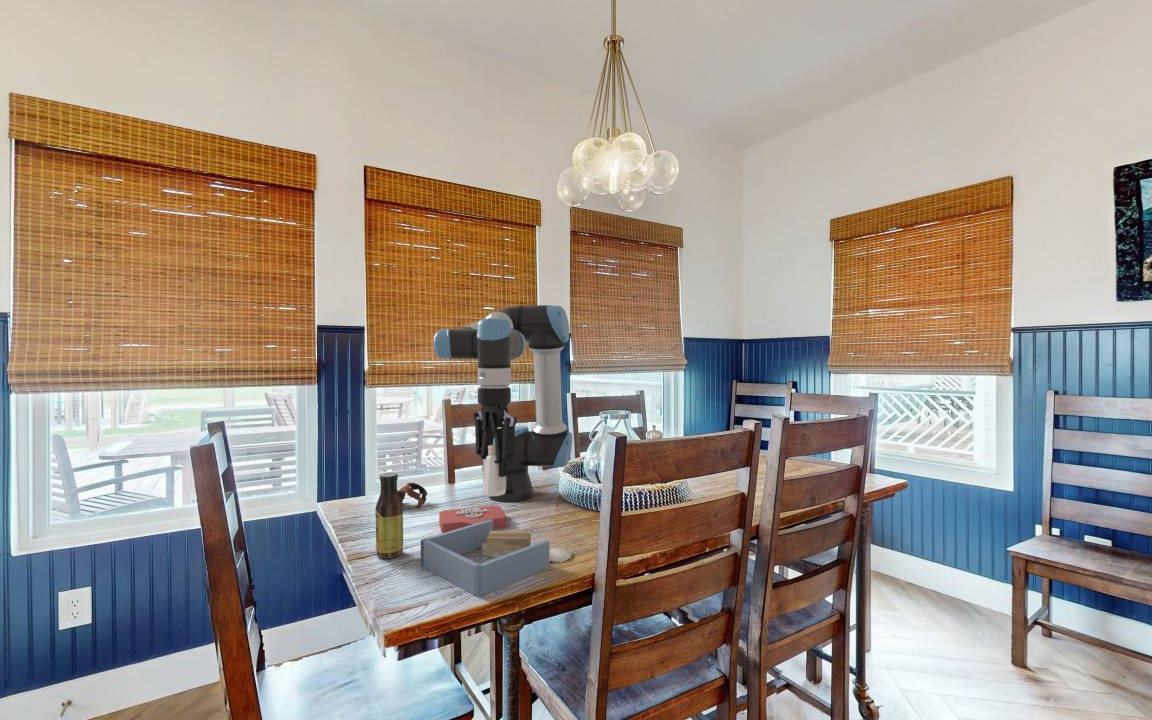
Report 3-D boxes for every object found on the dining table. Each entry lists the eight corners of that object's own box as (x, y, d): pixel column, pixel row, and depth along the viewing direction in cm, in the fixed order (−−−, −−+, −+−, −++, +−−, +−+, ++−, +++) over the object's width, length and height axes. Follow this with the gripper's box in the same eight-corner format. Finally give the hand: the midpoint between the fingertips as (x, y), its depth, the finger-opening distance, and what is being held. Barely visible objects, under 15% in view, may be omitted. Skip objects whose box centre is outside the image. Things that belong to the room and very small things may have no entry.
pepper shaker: (477, 495, 117) (477, 446, 117) (490, 488, 122) (490, 442, 122) (498, 497, 115) (498, 448, 115) (510, 491, 120) (510, 444, 120)
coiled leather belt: (405, 501, 171) (418, 480, 170) (422, 519, 166) (435, 497, 166) (377, 501, 160) (391, 479, 160) (395, 520, 155) (409, 496, 155)
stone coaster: (557, 548, 130) (557, 546, 130) (577, 556, 125) (577, 553, 125) (536, 556, 125) (536, 554, 125) (557, 564, 120) (557, 562, 120)
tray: (490, 542, 134) (490, 519, 134) (549, 566, 119) (549, 541, 119) (420, 565, 119) (420, 539, 119) (478, 597, 104) (478, 567, 104)
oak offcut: (490, 542, 127) (490, 530, 127) (530, 542, 127) (530, 531, 127) (486, 549, 122) (486, 538, 122) (528, 550, 122) (528, 538, 122)
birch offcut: (495, 549, 130) (495, 537, 130) (537, 560, 124) (537, 548, 124) (481, 556, 126) (481, 544, 126) (524, 568, 119) (524, 555, 119)
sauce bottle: (382, 549, 129) (382, 470, 128) (407, 550, 128) (406, 470, 128) (371, 560, 122) (370, 476, 122) (397, 560, 122) (396, 477, 121)
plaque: (442, 525, 136) (438, 508, 151) (442, 539, 137) (438, 522, 151) (509, 518, 142) (499, 503, 156) (509, 532, 142) (499, 515, 156)
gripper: (459, 385, 121) (460, 484, 122) (503, 389, 109) (504, 499, 110) (486, 383, 126) (486, 478, 127) (530, 387, 115) (530, 492, 115)
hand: (494, 488), depth 118 cm, fingers closed on pepper shaker, 4 cm apart
